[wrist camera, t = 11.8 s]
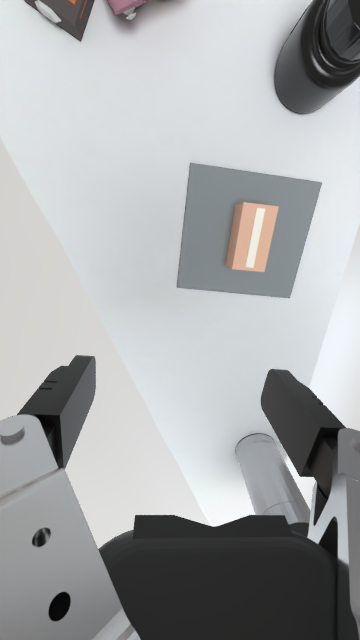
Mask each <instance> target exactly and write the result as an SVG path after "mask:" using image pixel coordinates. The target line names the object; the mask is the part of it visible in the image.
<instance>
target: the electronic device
mask: <svg viewBox="0 0 360 640" xmlns="http://www.w3.org/2000/svg"><path fill="white" fill-rule="evenodd" d="M24 1H25V2H27V3H28V4H30V5H31V6H32V7H34V8H35V9H37V10H38V11H39V12H41V13H42V14H43V15H44V16H46V17H47V18H49V19H50V20H51V21H53V22H54V23H56V24H57V25H59V26H60V27H62V28H63V29H64V30H66V31H67V32H69V33H70V34H71V35H73V36H74V37H75V38H77V39H78V40H80V41H81V38H82V35H83V32H84V29H85V26H86V23H87V20H88V17H89V14H90V11H91V8H92V5H93V2H94V0H24Z"/></svg>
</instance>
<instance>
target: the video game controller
mask: <svg viewBox="0 0 360 640" xmlns="http://www.w3.org/2000/svg"><path fill="white" fill-rule="evenodd" d="M107 1H108V3H109V5H110V6H111V7H112V9H113V11H114V14H115V15H118V14H121V13H124V14H126V15H128V17H126V19H128V20H132V19H133V18H134V17H135V15H136V13H133V11H134V10H135V8H137V7H139V6H141V5H143V4H144V3H146V2H147V0H107Z"/></svg>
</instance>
